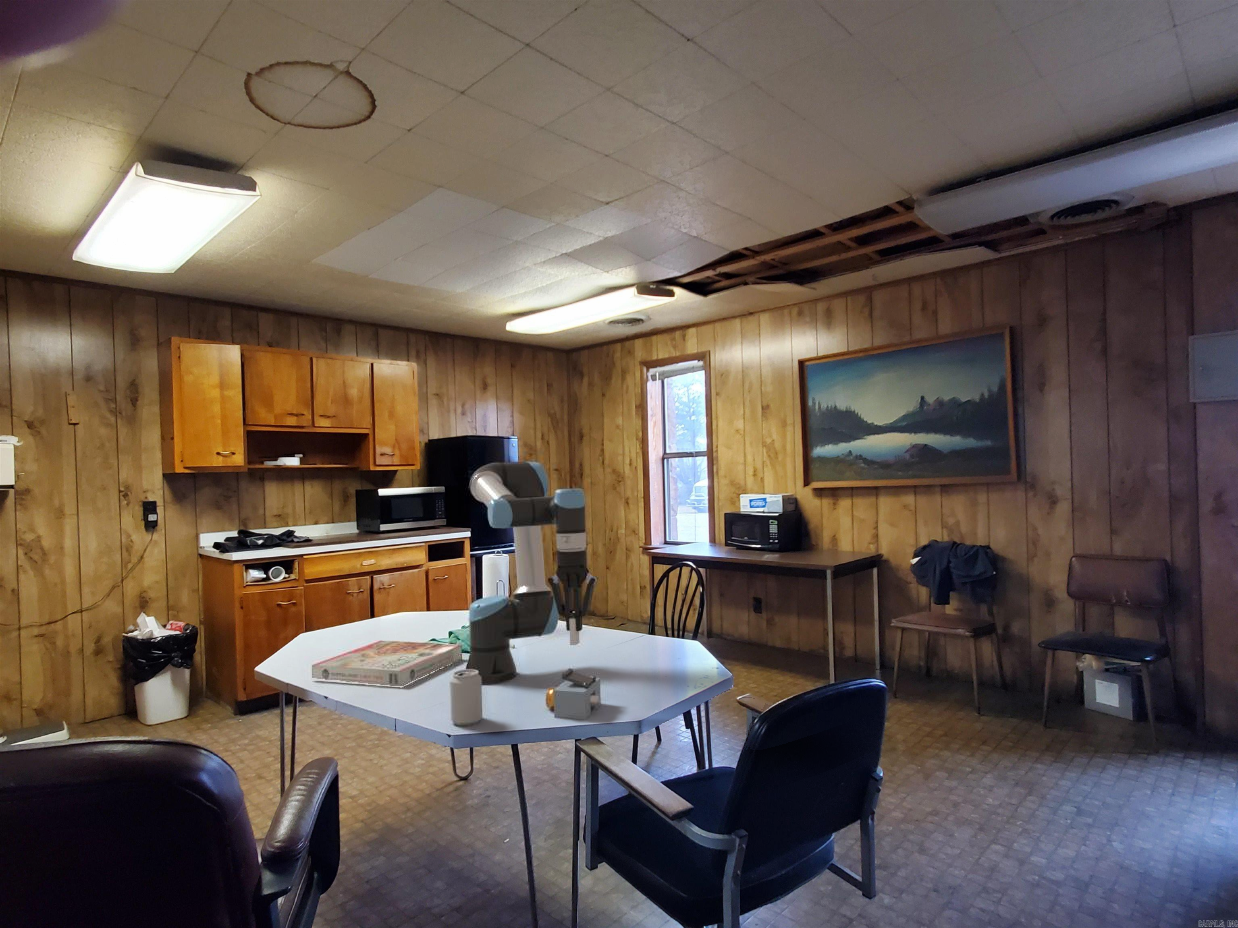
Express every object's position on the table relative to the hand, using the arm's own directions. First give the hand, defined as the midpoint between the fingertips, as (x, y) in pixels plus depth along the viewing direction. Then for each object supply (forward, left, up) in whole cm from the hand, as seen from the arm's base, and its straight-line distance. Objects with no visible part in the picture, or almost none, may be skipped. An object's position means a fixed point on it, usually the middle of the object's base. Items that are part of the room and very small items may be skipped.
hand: (574, 643), depth 176 cm
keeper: (0, 0, -9) cm, 9 cm away
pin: (-1, 0, -17) cm, 17 cm away
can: (-24, -13, -17) cm, 32 cm away
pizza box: (-72, +25, -17) cm, 78 cm away
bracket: (0, 0, -17) cm, 17 cm away
